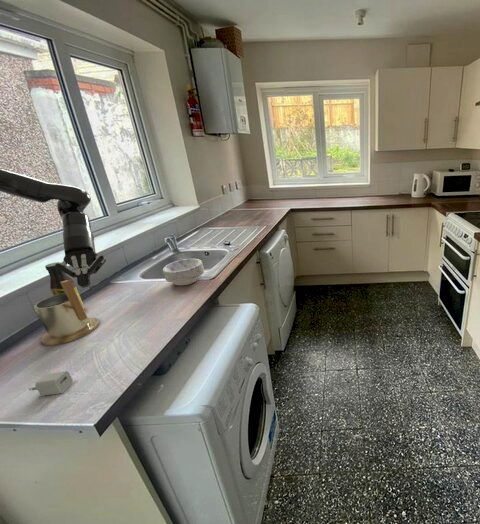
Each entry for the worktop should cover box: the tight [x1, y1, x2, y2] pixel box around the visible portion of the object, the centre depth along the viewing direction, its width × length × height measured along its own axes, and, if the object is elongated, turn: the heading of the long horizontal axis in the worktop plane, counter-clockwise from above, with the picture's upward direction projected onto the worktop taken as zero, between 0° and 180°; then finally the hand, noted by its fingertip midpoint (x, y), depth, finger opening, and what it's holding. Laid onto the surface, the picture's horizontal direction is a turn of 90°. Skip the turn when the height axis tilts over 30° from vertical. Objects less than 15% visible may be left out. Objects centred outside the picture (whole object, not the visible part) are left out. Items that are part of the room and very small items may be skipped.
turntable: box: [40, 317, 100, 346], centre depth 94 cm, size 14×14×1 cm
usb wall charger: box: [28, 370, 74, 397], centre depth 70 cm, size 4×7×4 cm, turn 99°
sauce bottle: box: [45, 261, 86, 311], centre depth 101 cm, size 6×6×20 cm
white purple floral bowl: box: [162, 258, 205, 286], centre depth 126 cm, size 15×15×8 cm
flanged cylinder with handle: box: [33, 280, 90, 339], centre depth 89 cm, size 16×10×19 cm, turn 69°
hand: (84, 286), depth 92 cm, fingers closed
